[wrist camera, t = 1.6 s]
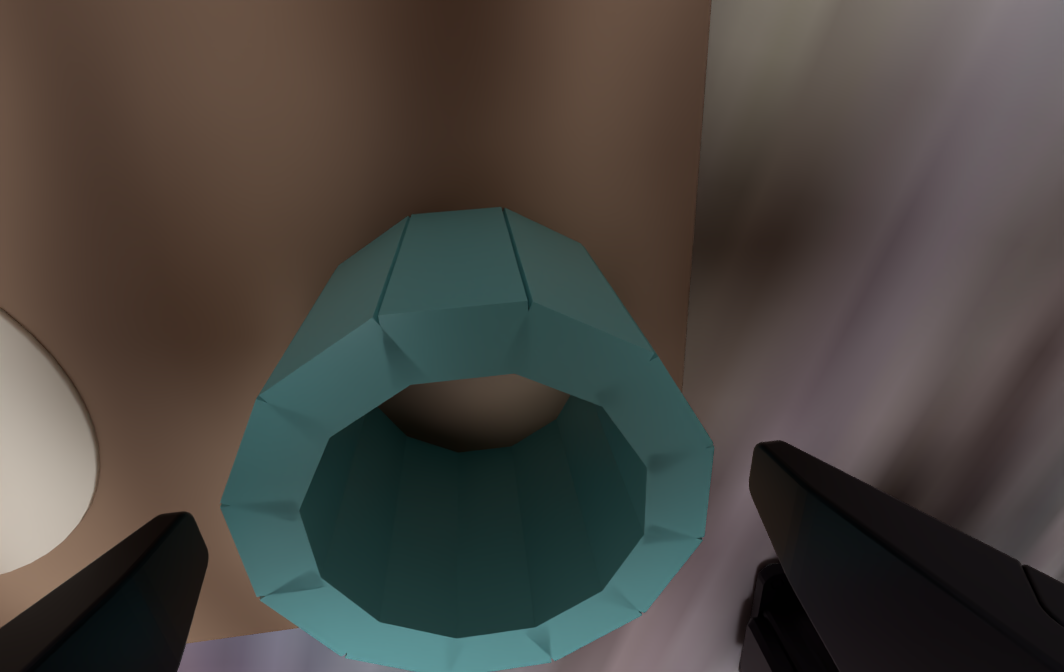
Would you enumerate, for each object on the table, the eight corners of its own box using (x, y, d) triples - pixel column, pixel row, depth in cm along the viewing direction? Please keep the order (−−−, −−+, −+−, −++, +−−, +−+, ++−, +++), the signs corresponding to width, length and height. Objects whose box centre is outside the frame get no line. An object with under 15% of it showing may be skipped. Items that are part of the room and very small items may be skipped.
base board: (685, -57, 11) (722, -77, 9) (652, 538, 18) (670, 582, 16) (-745, 12, 9) (-989, 1, 7) (-150, 645, 16) (-213, 705, 15)
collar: (626, 196, 11) (733, 281, 7) (621, 464, 15) (692, 641, 10) (278, 225, 11) (151, 336, 6) (350, 497, 14) (298, 700, 10)
